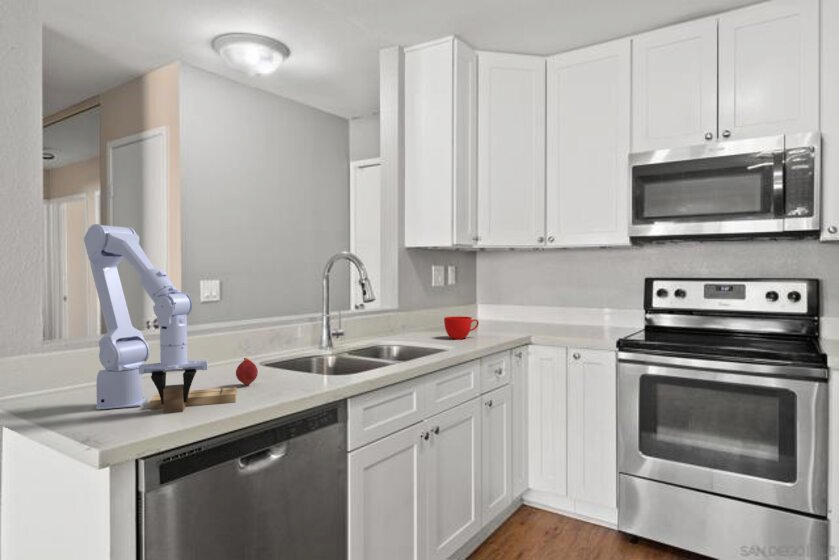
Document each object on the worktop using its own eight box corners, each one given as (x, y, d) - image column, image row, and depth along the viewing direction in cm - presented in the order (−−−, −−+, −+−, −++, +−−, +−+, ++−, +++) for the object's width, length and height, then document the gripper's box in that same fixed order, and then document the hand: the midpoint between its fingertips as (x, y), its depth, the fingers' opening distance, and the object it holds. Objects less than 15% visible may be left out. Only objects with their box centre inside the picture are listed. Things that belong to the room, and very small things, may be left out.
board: (150, 409, 121) (149, 400, 121) (156, 401, 129) (156, 392, 129) (235, 402, 127) (235, 393, 127) (236, 394, 134) (236, 387, 134)
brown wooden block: (163, 413, 117) (163, 389, 117) (170, 403, 126) (169, 381, 126) (182, 411, 118) (182, 388, 118) (187, 402, 127) (187, 379, 127)
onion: (250, 382, 150) (250, 355, 150) (261, 385, 146) (261, 357, 146) (232, 385, 145) (231, 357, 145) (243, 388, 142) (243, 359, 142)
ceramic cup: (483, 339, 240) (483, 318, 240) (449, 341, 235) (449, 319, 235) (473, 336, 252) (473, 315, 252) (440, 337, 248) (440, 317, 248)
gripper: (135, 348, 114) (136, 409, 114) (205, 345, 118) (206, 403, 119) (141, 344, 121) (143, 402, 121) (208, 341, 125) (209, 396, 125)
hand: (174, 402), depth 120 cm, fingers closed on brown wooden block, 4 cm apart
